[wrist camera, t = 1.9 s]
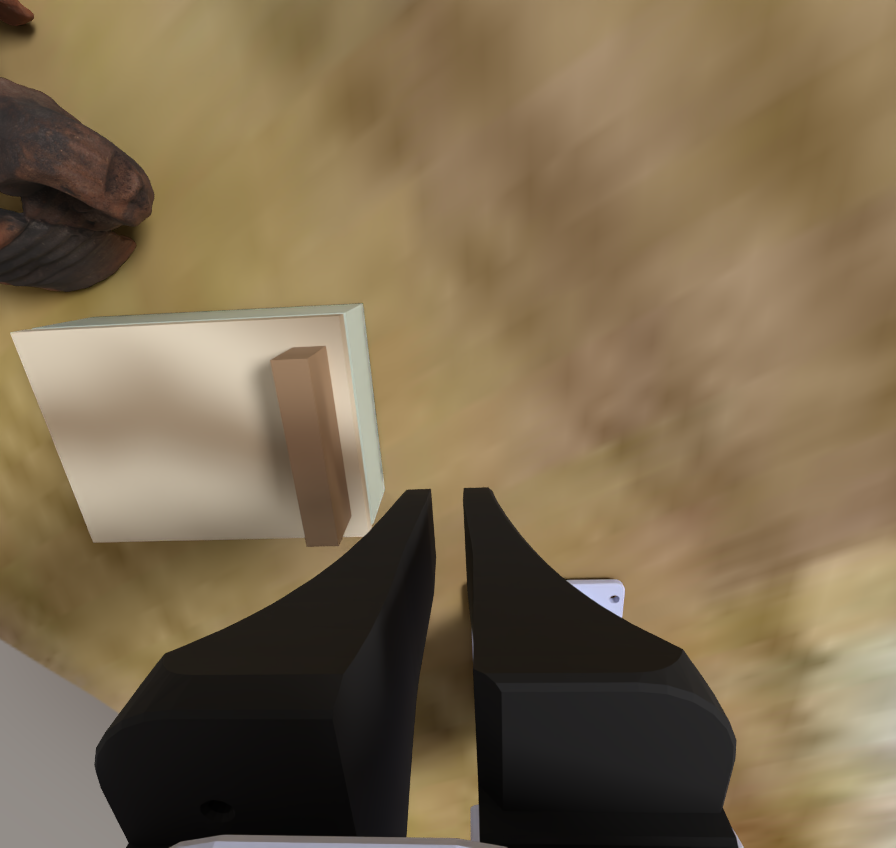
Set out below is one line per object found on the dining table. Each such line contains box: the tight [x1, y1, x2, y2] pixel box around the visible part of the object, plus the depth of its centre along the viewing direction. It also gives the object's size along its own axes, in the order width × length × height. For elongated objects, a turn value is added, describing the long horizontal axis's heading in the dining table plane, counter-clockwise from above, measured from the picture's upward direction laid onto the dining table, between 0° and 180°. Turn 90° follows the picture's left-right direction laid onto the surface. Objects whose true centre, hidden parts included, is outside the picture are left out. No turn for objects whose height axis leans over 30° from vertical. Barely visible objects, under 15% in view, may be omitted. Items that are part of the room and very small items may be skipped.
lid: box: [10, 314, 372, 547], centre depth 17 cm, size 9×12×3 cm
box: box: [32, 303, 385, 524], centre depth 20 cm, size 9×12×3 cm
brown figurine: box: [0, 0, 154, 292], centre depth 15 cm, size 12×10×8 cm
